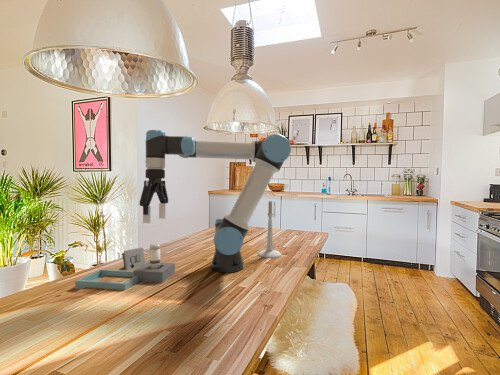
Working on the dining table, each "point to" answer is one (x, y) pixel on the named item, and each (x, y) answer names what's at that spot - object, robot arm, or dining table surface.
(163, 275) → the fuse holder
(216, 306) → the dining table surface
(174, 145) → the robot arm
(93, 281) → the parts tray
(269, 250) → the candlestick
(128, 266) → the electrical switch
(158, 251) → the cylinder
